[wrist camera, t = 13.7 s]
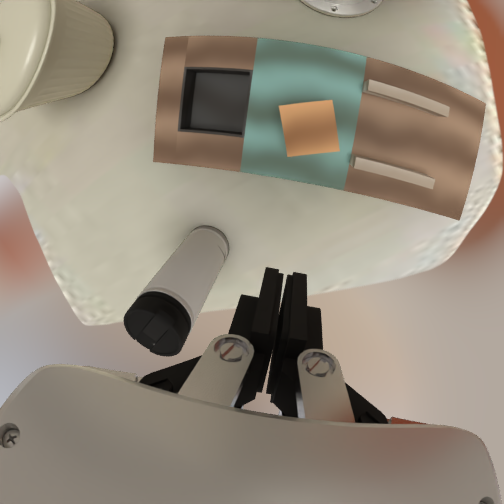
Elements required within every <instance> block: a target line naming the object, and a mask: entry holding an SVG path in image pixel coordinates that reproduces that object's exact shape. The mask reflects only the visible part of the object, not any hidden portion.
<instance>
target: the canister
mask: <svg viewBox="0 0 504 504" xmlns="http://www.w3.org/2000/svg"><path fill="white" fill-rule="evenodd" d="M113 39H114V37H113V31H112V30H111V26H110V25H109V23H108V21H107V20H106V19H105V18H104V17H103V16H102V15H100V14H99V13H97V12H95V11H94V10H92V9H90V8H89V7H87V6H85V5H83V4H81V3H79V2H77V1H75V0H2V1H1V3H0V122H2V121H4V120H6V119H8V118H9V117H11V116H12V115H13V114H14V113H15V112H18V111H21V110H25V109H28V108H31V107H35V106H38V105H42V104H46V103H50V102H53V101H57V100H61V99H65V98H68V97H72V96H75V95H77V94H80V93H82V92H83V91H85V90H87V89H89V88H90V86H92V85H94V84H95V82H96V81H97V80H99V78H100V76H101V75H102V74H103V72H104V71H105V69H106V68H107V65H108V63H109V61H110V58H111V56H112V51H113V45H114V42H113Z"/></svg>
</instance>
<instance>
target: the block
mask: <svg viewBox="0 0 504 504" xmlns="http://www.w3.org/2000/svg"><path fill="white" fill-rule="evenodd" d="M279 110H280V115H281V121H282V127H283V132H284V138H285V144H286V150H287V157H292V156H300V155H309V154H318V153H328V152H339V151H340V149H339V141H338V134H337V126H336V120H335V113H334V107H333V101H332V100H324V101H314V102H305V103H296V104H289V105H281V106H279Z"/></svg>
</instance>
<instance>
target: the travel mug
mask: <svg viewBox="0 0 504 504" xmlns="http://www.w3.org/2000/svg"><path fill="white" fill-rule="evenodd" d="M228 253H229V244H228V241H227V239H226V237H225V236H224V234H223V233H221V232H220V231H219V230H217V229H216V228H213V227H210V226H201V227H198V228H196V229H194V230H193V231H192V232H191V233H190V234H189V235H188V237H187V238H186V239H185V240H184V241H183V242H182V244H181V245H180V246H179V247H178V248H177V249H176V251H175V252H174V253H173V254H172V255H171V257H170V258H169V259H168V260H167V261H166V263H165V264H164V265H163V266H162V267H161V269H160V270H159V271H158V272H157V274H156V275H155V276H154V277H153V278H152V280H151V281H150V282H149V283H148V285H147V286H146V287H145V288H144V290H143V291H142V292H141V294H140V295H139V296H138V297H137V299H136V301H135V302H134V303H133V305H132V306H131V307H130V308H129V310H128V311H127V312H126V314H125V316H124V325H125V328H126V330H127V332H128V334H129V335H130V336H131V337H132V338H133V339H134V340H135V339H136V340H137V341H138V342H139V343H140V344H141V345H143V346H144V347H146V348H147V349H150V352H152V353H155V354H157V355H160V356H174V355H177V354H178V353H179V352H180V351H181V349H182V347H183V345H184V343H185V341H186V339H187V336H188V335H189V333H190V332H191V330H192V327H193V326H194V323H195V321H196V319H197V317H198V315H199V313H200V311H201V309H202V307H203V305H204V303H205V301H206V299H207V297H208V294H209V292H210V290H211V288H212V286H213V284H214V282H215V280H216V278H217V276H218V274H219V272H220V270H221V268H222V266H223V264H224V262H225V260H226V258H227V256H228Z"/></svg>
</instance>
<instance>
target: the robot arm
mask: <svg viewBox="0 0 504 504" xmlns="http://www.w3.org/2000/svg"><path fill="white" fill-rule="evenodd" d="M300 1H301V2H303V3H304V4H306V5H307V6H308V7H310V8H312V9H314V10H316V11H318V12H321V13H324V14H327V15H331V16H335V17H357V16H362V15H365V14H367V13H370V12H371V11H373V10H374V9H376V8H377V7H378V6H379V4H380V3H381V2H382V0H300ZM372 2H373V3H374V4H373V3H372ZM332 10H335V12H334V11H332ZM283 275H284V274H282V273H279V269H274V268H268V267H266V269H265V273H264V278H263V282H262V286H261V291H260V295H259V298H258V297H253V296H248V295H241V296H240V299H239V302H238V306H237V309H236V312H235V315H234V318H233V321H232V324H231V327H230V330H229V333H228V334H225V335H220V336H218V337H216V338H214V339H213V341H211V343H210V344H209V346H208V347H207V349H206V350H205V352H204V354H203V355H202V356H199V357H196V358H193V359H191V360H188V361H185V362H182V363H179V364H176V365H174V366H171V367H168V368H165V369H162V370H159V371H156V372H153V373H150V374H148V375H146V376H144V377H137V374H135V373H128V372H121V371H114V370H108V369H101V368H95V367H90V366H77V365H65V364H54V365H46V366H43V367H41V368H39V369H37V370H35V371H34V372H32V373H31V374H30V375H29V376H27V377H26V378H25V379H24V380H23V381H22V382H21V383H20V384H19V385H18V387H17V388H16V389H15V390H14V391H13V392H12V393H11V395H10V396H9V397H8V399H7V400H6V401H5V403H4V404H3V405H2V407H1V408H0V504H502V502H501V495H500V490H499V485H498V481H497V477H496V473H495V469H494V466H493V463H492V460H491V457H490V455H489V452H488V450H487V448H486V446H485V444H484V443H483V441H482V440H481V439H480V438H479V437H478V436H477V435H475V434H473V433H472V432H469V431H467V430H463V429H460V428H457V427H452V426H446V425H434V424H426V423H420V422H415V421H409V420H405V419H400V418H395V417H391V418H390V419H386V417H385V415H384V414H382V412H381V411H379V410H378V409H377V408H376V407H374V406H373V405H372V404H370V403H369V402H368V401H367V400H366V399H364V398H363V397H362V396H361V395H360V394H358V393H357V392H356V391H355V390H354V389H352V388H351V387H350V386H349V385H348V384H346V383H345V381H344V378H343V374H342V371H341V367H340V364H339V362H338V360H337V359H336V357H335V356H334V355H332V354H331V353H329V352H327V351H324V350H323V341H322V323H321V310H320V308H315V307H309V306H307V274H302V273H296V272H293V275H287V279H286V284H285V289H284V293H283V298H282V303H281V307H280V300H281V292H282V283H283ZM279 308H280V311H279ZM271 354H272V357H271ZM270 358H271V364H270V371H269V378H268V384H267V390H266V393H267V394H271V401H270V402H271V403H274V404H275V405H276V406H277V407H278V408H279V409H280V410H279V415H273V414H267V413H261V412H255V411H249V410H244V409H243V406H244V404H246V403H248V402H250V401H252V400H254V399H255V396H256V392H262V390H263V385H264V382H265V378H266V374H267V370H268V366H269V362H270Z"/></svg>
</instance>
